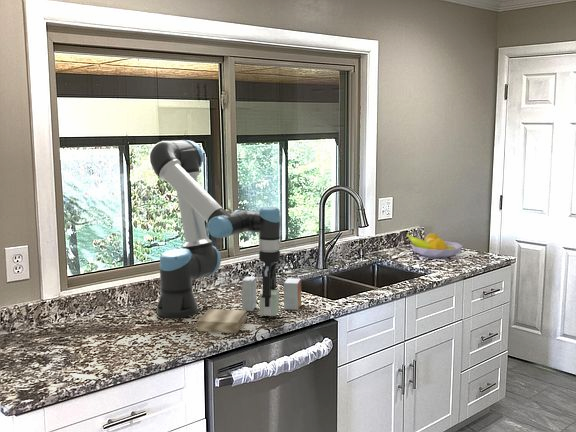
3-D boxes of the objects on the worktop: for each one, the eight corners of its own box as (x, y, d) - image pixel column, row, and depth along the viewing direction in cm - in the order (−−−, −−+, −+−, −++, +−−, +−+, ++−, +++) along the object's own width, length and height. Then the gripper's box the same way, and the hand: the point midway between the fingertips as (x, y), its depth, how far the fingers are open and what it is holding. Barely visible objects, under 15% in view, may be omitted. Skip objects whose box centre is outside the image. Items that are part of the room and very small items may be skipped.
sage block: (259, 315, 221) (259, 293, 219) (263, 310, 226) (263, 289, 225) (275, 316, 220) (276, 294, 218) (279, 311, 225) (279, 290, 224)
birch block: (197, 332, 209) (197, 320, 208) (209, 319, 223) (209, 308, 222) (237, 334, 207) (236, 322, 206) (246, 321, 220) (246, 310, 220)
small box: (297, 310, 231) (297, 283, 230) (283, 309, 232) (283, 282, 231) (301, 304, 239) (301, 278, 237) (287, 303, 240) (287, 277, 238)
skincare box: (245, 306, 237) (245, 275, 235) (257, 306, 236) (256, 276, 234) (241, 311, 231) (240, 279, 229) (252, 311, 230) (252, 280, 228)
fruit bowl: (467, 253, 330) (468, 232, 328) (452, 263, 307) (452, 241, 306) (417, 248, 345) (418, 228, 343) (399, 257, 322) (400, 236, 320)
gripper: (274, 256, 209) (274, 320, 213) (284, 245, 228) (284, 304, 232) (253, 255, 211) (253, 319, 214) (264, 244, 229) (264, 303, 233)
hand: (269, 311), depth 223 cm, fingers closed on sage block, 6 cm apart
